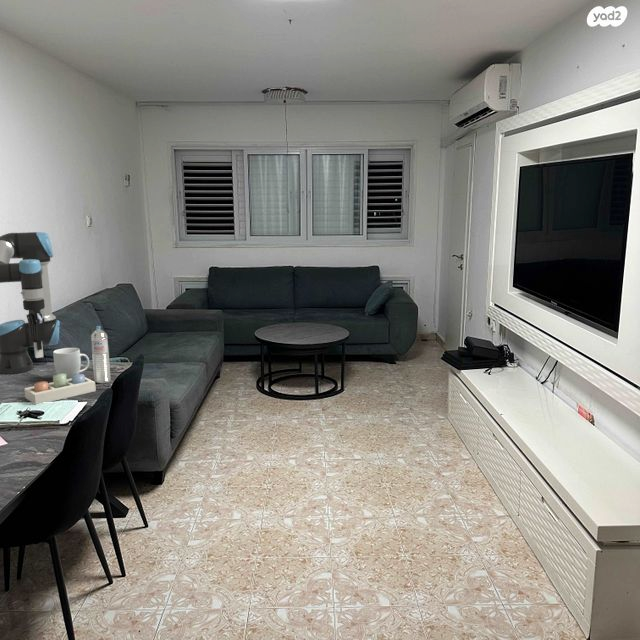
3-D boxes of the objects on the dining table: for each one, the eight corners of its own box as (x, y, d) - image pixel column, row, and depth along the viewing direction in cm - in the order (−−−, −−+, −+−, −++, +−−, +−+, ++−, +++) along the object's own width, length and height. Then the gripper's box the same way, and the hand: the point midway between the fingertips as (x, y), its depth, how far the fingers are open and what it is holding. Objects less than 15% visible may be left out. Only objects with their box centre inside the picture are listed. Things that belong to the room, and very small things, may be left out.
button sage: (51, 386, 238) (50, 375, 237) (64, 384, 241) (63, 372, 240) (56, 389, 234) (55, 377, 233) (69, 386, 237) (67, 375, 237)
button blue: (70, 387, 243) (69, 375, 242) (82, 384, 247) (81, 373, 246) (75, 389, 240) (74, 378, 239) (87, 386, 243) (86, 375, 242)
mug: (86, 372, 270) (84, 345, 267) (94, 377, 262) (91, 349, 259) (52, 378, 261) (49, 350, 258) (59, 383, 252) (56, 354, 250)
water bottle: (114, 379, 258) (109, 325, 253) (104, 384, 251) (100, 328, 246) (100, 378, 260) (96, 324, 255) (91, 383, 253) (86, 327, 248)
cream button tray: (25, 397, 234) (24, 388, 233) (83, 384, 251) (83, 376, 250) (35, 404, 226) (34, 395, 225) (95, 391, 242) (95, 381, 241)
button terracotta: (33, 395, 233) (31, 383, 232) (46, 392, 236) (44, 380, 235) (37, 397, 229) (36, 385, 228) (50, 395, 233) (49, 383, 232)
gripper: (17, 298, 228) (23, 355, 233) (29, 302, 219) (35, 362, 224) (37, 296, 233) (43, 352, 238) (49, 300, 224) (55, 358, 229)
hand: (39, 357), depth 231 cm, fingers closed
